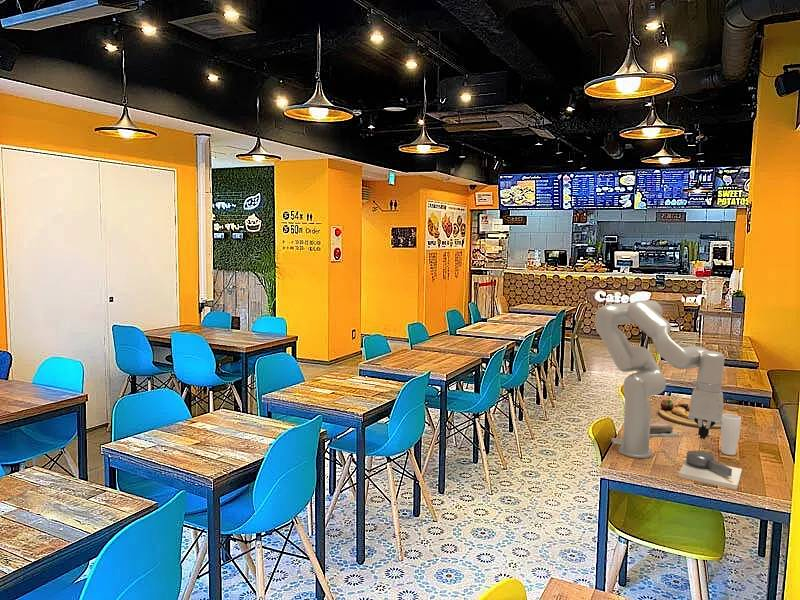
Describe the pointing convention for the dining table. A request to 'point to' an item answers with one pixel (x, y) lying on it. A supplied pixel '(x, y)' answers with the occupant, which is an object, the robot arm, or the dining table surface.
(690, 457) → the dial
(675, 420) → the wooden plate with food
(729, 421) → the drinking glass
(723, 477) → the dial base
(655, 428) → the packaged product
